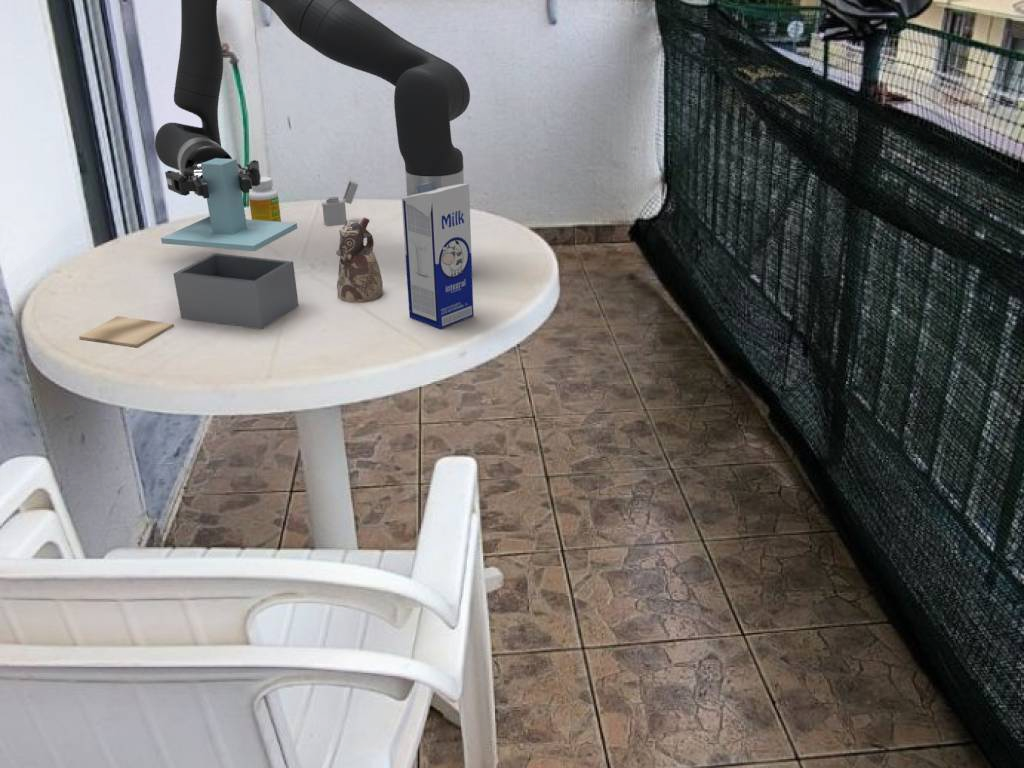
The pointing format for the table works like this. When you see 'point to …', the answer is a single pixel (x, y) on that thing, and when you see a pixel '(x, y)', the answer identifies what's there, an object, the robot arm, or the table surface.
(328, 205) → the lighter
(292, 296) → the tub
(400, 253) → the table surface
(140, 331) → the mat
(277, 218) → the supplement bottle
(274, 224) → the lid
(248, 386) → the table surface
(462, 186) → the milk carton
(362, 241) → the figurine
